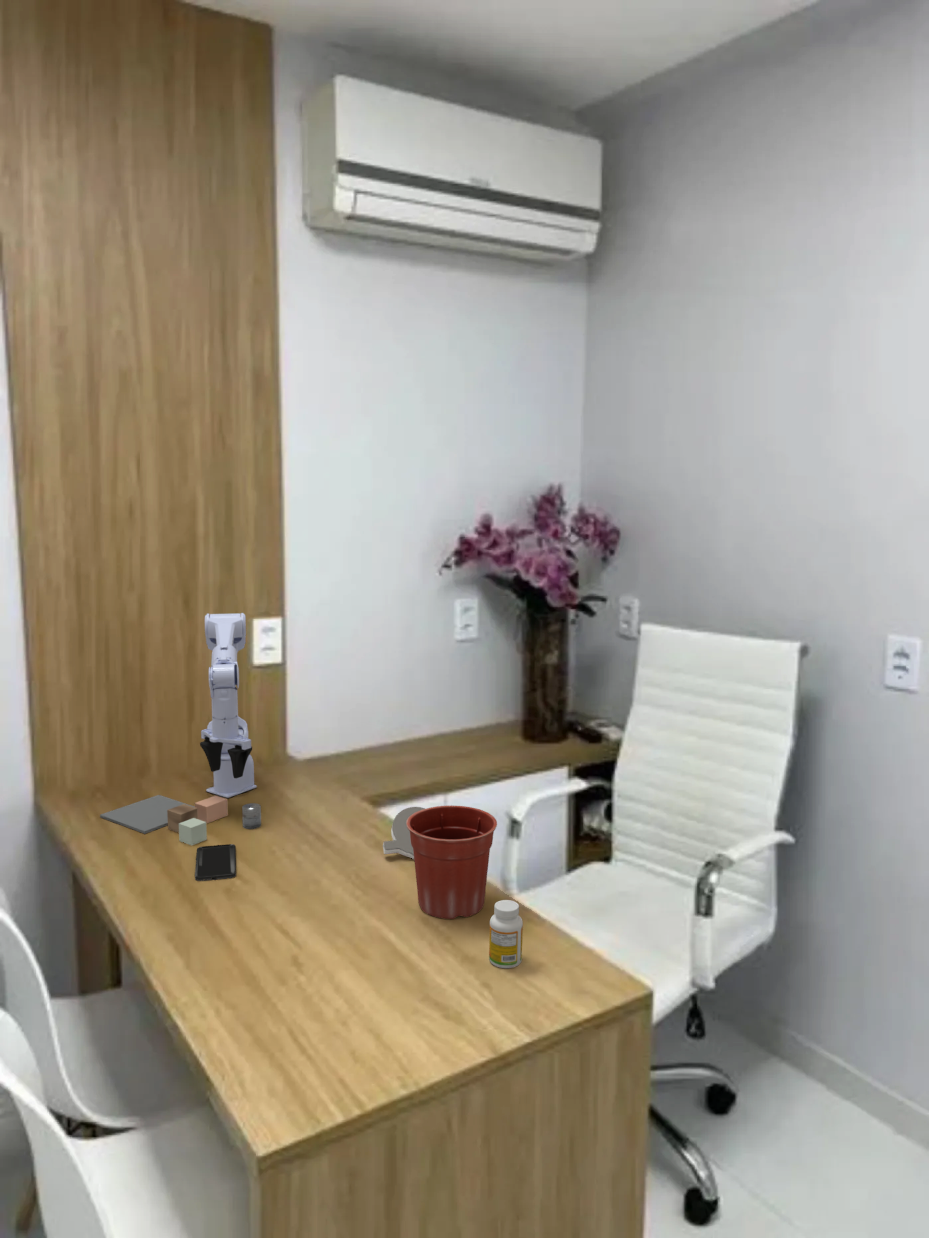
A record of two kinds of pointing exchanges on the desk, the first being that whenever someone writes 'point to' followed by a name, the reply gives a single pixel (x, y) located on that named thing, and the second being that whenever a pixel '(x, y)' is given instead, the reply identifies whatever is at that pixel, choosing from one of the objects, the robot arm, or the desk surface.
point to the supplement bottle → (505, 935)
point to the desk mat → (143, 814)
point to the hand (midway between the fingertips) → (226, 773)
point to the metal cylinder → (251, 816)
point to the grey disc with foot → (401, 834)
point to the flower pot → (451, 858)
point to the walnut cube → (180, 816)
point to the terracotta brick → (212, 809)
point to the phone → (215, 862)
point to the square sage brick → (192, 831)
